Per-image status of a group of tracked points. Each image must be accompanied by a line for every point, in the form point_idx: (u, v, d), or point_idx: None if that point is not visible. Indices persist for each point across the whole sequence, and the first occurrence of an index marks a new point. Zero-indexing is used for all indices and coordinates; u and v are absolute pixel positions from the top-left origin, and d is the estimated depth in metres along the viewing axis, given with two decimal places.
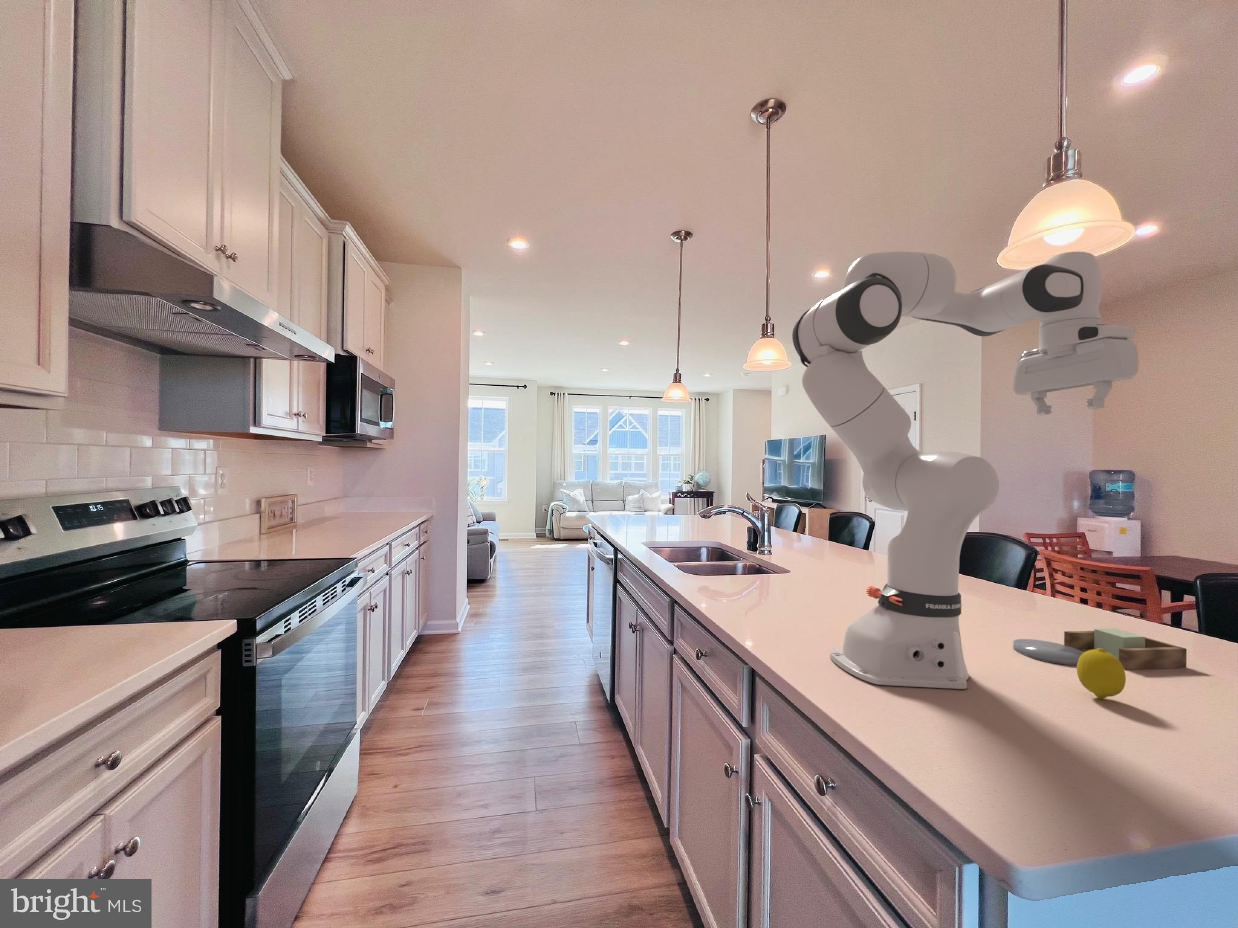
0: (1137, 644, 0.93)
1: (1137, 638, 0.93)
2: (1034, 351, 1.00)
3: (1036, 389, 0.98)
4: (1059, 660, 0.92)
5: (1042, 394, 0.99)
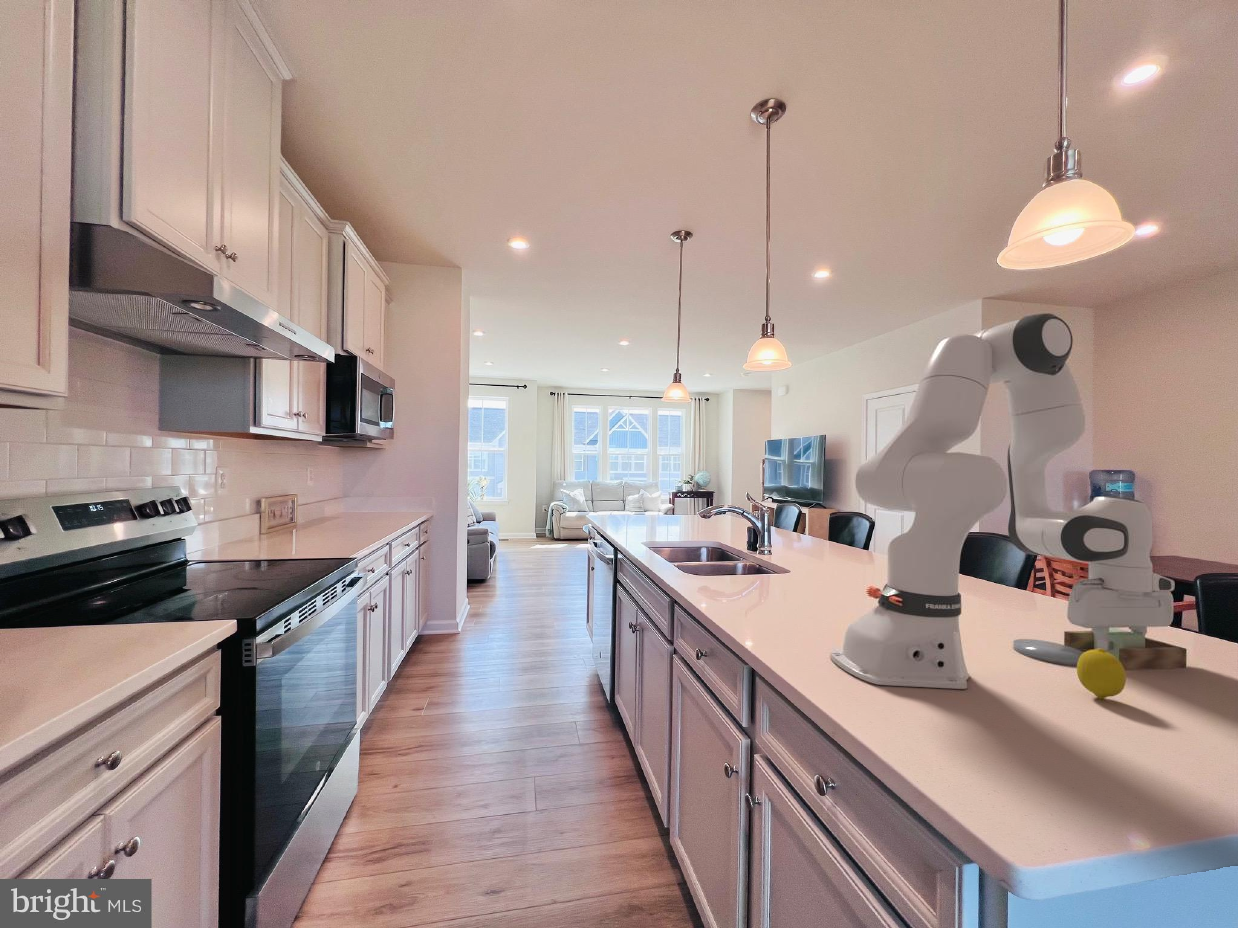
0: (1137, 644, 0.93)
1: (1137, 637, 0.93)
2: (1094, 582, 0.95)
3: (1108, 626, 0.94)
4: (1059, 660, 0.92)
5: None
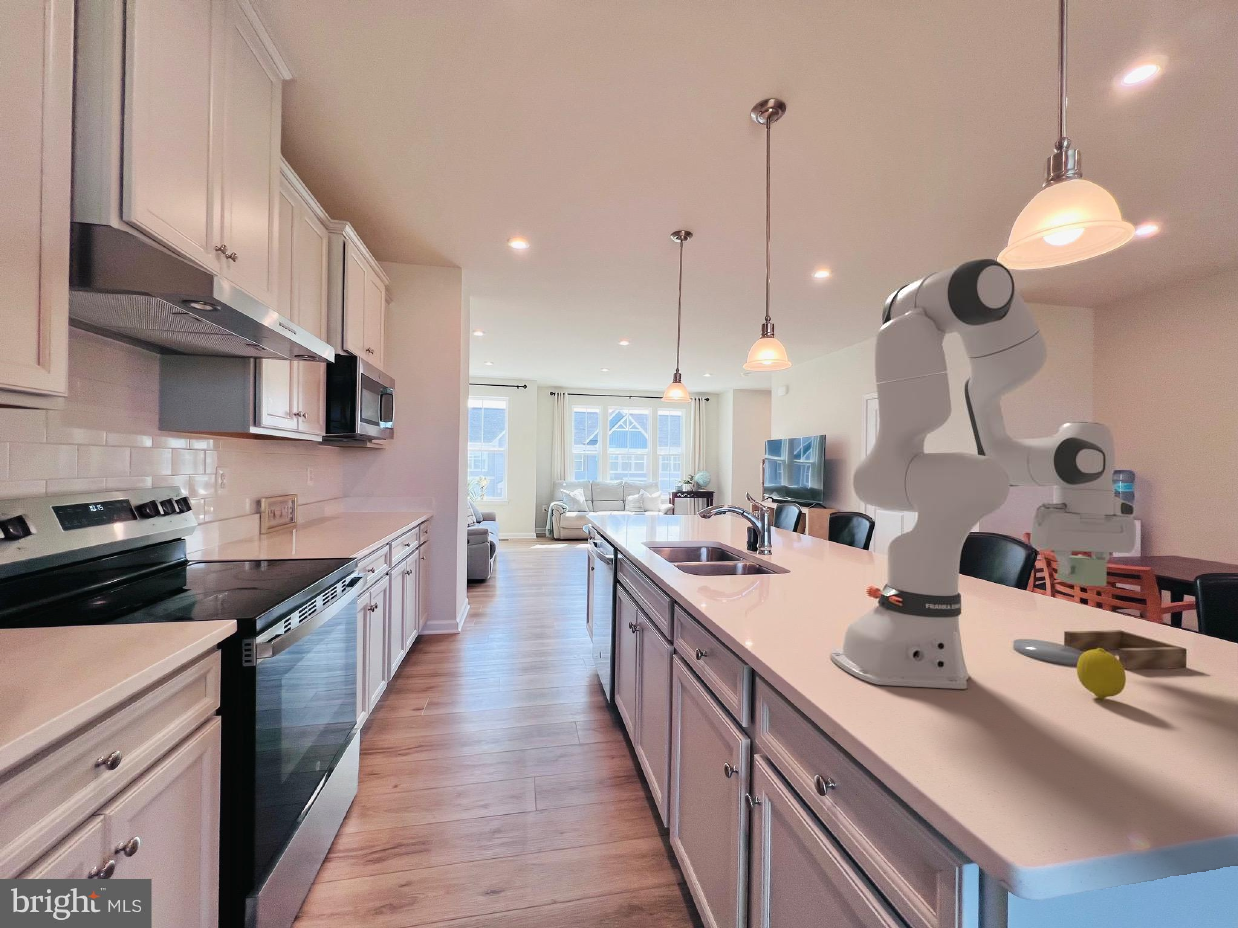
0: (1099, 567, 0.94)
1: (1099, 561, 0.94)
2: (1057, 506, 0.95)
3: (1070, 549, 0.94)
4: (1059, 660, 0.92)
5: None
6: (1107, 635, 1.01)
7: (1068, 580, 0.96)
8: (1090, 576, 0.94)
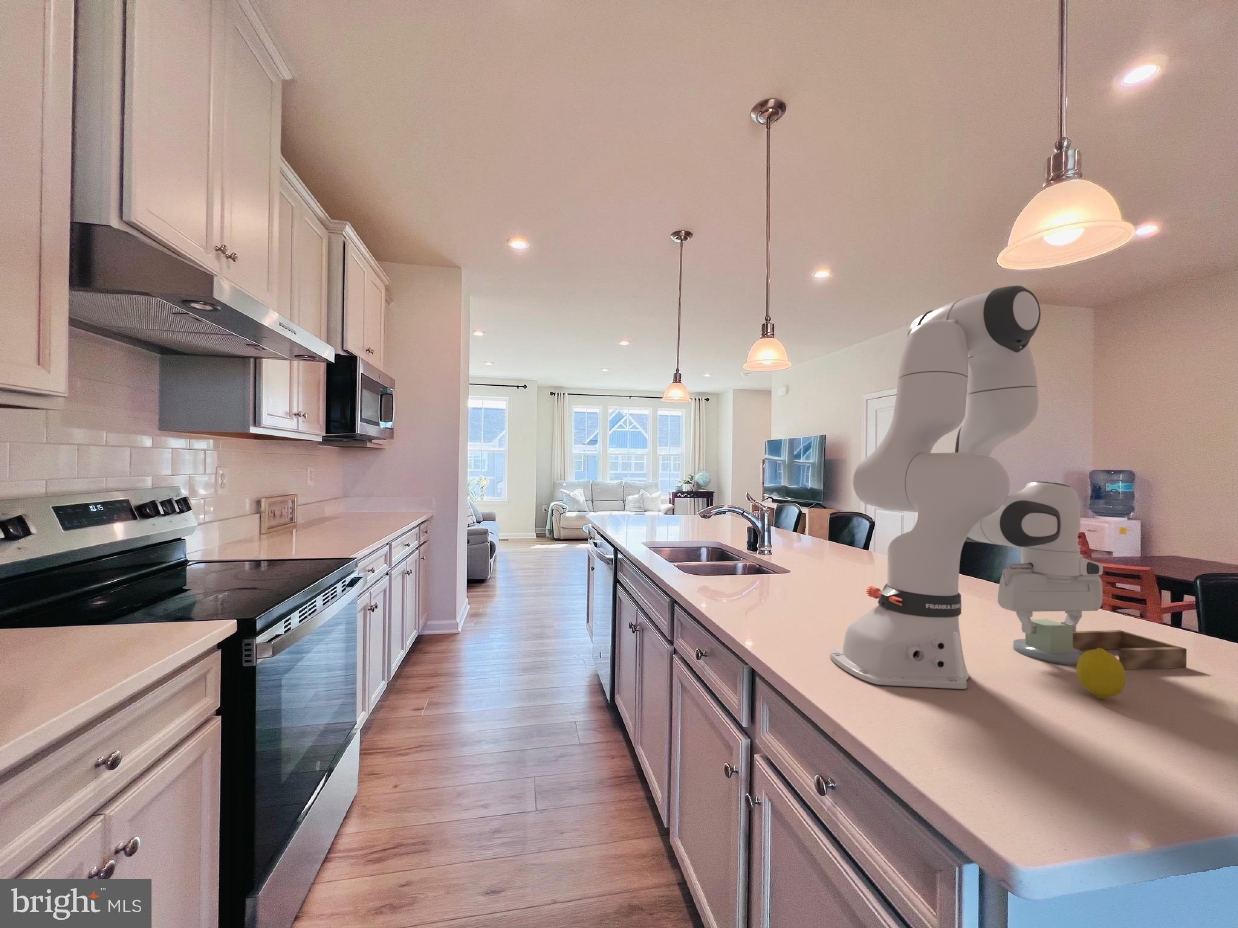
0: (1065, 634, 0.94)
1: (1065, 628, 0.94)
2: (1023, 566, 0.96)
3: (1036, 610, 0.94)
4: (1059, 660, 0.92)
5: None
6: (1107, 635, 1.01)
7: (1035, 646, 0.97)
8: (1056, 644, 0.94)
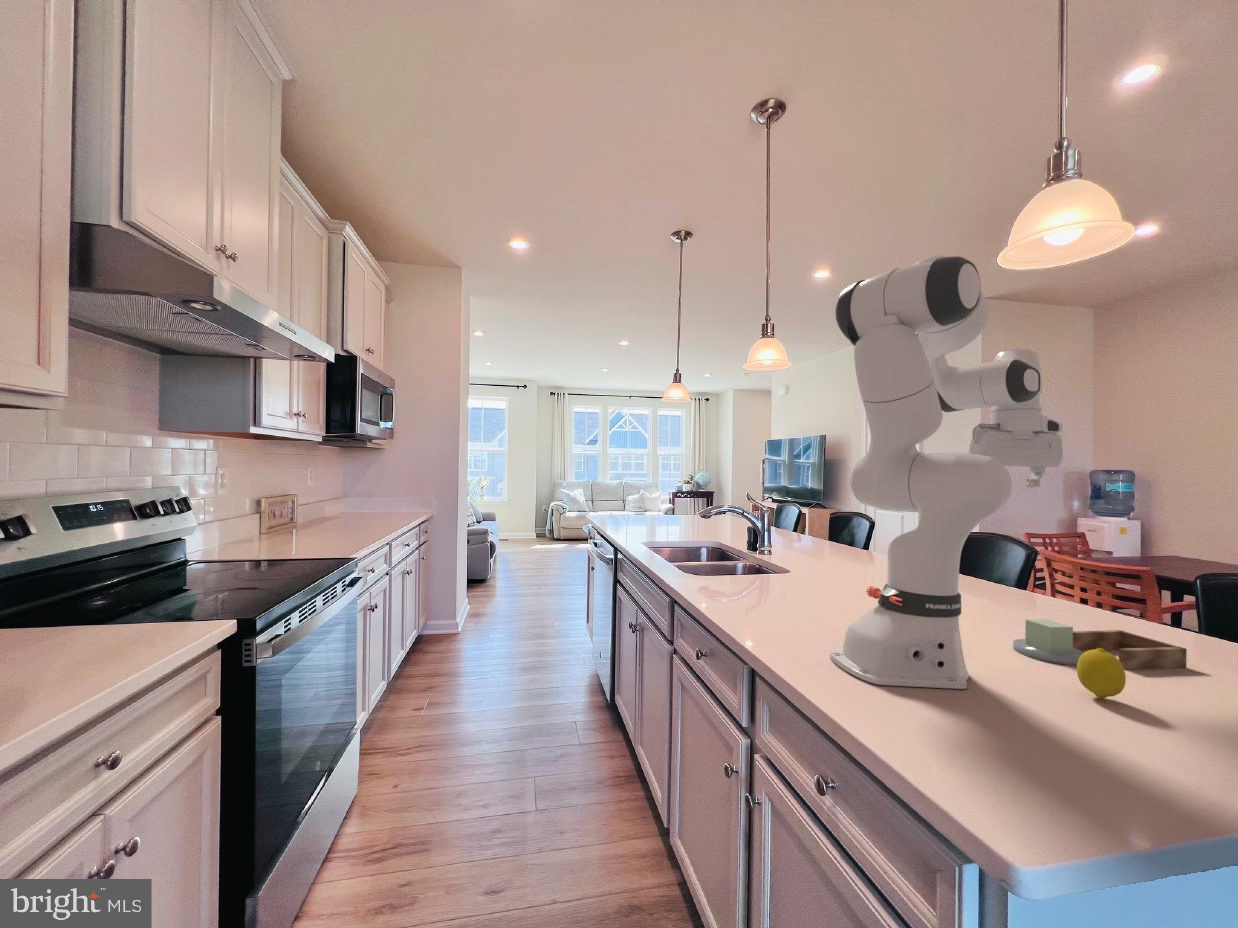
0: (1065, 634, 0.94)
1: (1065, 628, 0.94)
2: (991, 426, 1.06)
3: (1002, 463, 1.05)
4: (1059, 660, 0.92)
5: None
6: (1107, 635, 1.01)
7: (1035, 646, 0.97)
8: (1057, 644, 0.94)
